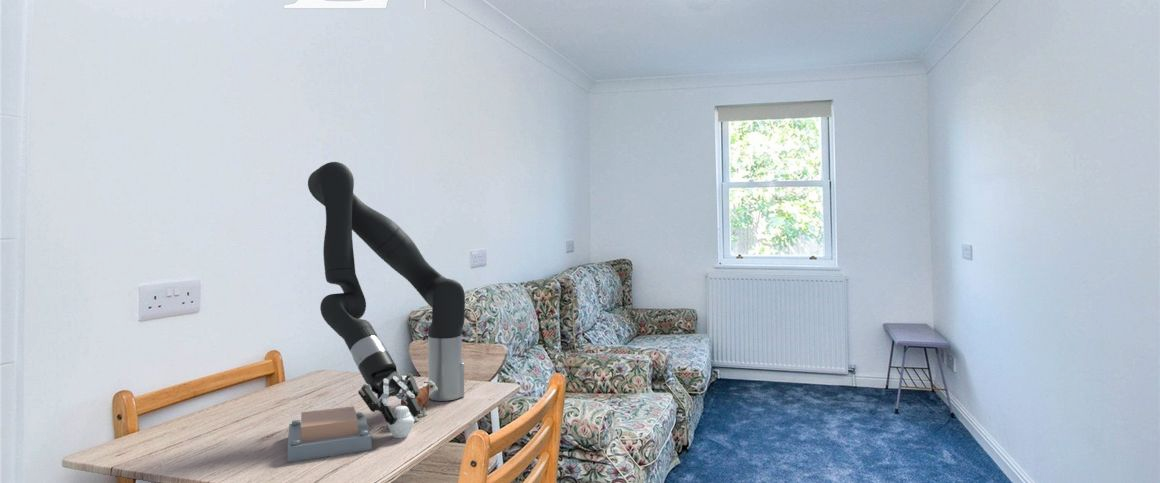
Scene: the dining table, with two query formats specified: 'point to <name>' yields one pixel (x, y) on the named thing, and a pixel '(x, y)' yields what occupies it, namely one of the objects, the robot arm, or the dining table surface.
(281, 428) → the dining table surface
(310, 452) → the grey pegged tray
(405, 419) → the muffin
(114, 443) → the dining table surface
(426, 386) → the bull figurine
